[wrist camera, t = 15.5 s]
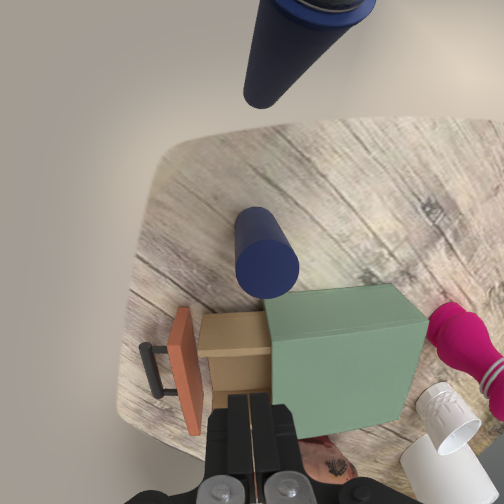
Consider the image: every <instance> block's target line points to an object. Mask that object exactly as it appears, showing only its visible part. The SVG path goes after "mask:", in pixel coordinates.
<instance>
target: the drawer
mask: <svg viewBox="0 0 504 504" xmlns="http://www.w3.org/2000/svg"><path fill="white" fill-rule="evenodd" d="M139 351H140V354H141V358H142V362H143V365H144V369H145V372H146V375H147V379H148V382H149V385H150V388H151V392H152V395H153V397H154V398H156V399H161V398H163V397H164V396H179V400H180V404H181V407H182V411H183V415H184V418H185V422H186V425H187V429H188V432H189V435H190V436H200V433H201V421H202V409H203V398H204V393H203V387H202V382H201V376H200V371H199V365H198V359H197V354H198V357H199V358H200V357H208V364H209V370H210V377H211V383H212V389H213V398H212V411H213V410H214V408H228V394H245V393H247V395H248V406H249V418H250V429H252V424H251V411H250V398H249V393H258V392H269V396H270V403H271V340H270V335H269V330H268V325H267V319H266V314H265V311H255V312H238V313H219V314H203V316H202V322H201V328H200V334H199V341H198V347H197V353H196V347H195V341H194V334H193V328H192V321H191V314H190V308H189V307H179V308H178V310H177V313H176V316H175V319H174V323H173V326H172V329H171V333H170V336H169V339H168V343H167V346H153V347H152V344H151V343H149V342H143V343H141V344H140V345H139ZM154 353H168V354H169V359H170V363H171V368H172V372H173V376H174V380H175V384H176V388H177V389H163V386H162V382H161V378H160V375H159V371H158V367H157V363H156V359H155V356H154Z"/></svg>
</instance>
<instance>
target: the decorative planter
mask: <svg viewBox="0 0 504 504" xmlns="http://www.w3.org/2000/svg"><path fill="white" fill-rule="evenodd" d="M298 443H299V447H300V452H301V456H302V461H303V466H304V469H305V471H306V473H307V474H308V475H309V476H310V477H311V478H313V479H314V480H317V481H319V482H322V483H331V484H344V483H345V482H347V481H348V480H350V479H353V478H356V477H358V473H357V470H356V469H355V467H354V466H353V465H352V464H351V463H350V462H349V461H348V459H346V458H345V457H344V456H343V454H342V453H341V452H340V451H339V450H338V449H337V447H336V446H335V445H334V444H333V443H332V442H331V441H330V440H329V438H328V437H327V436H326V435H324V436H317V437H310V438H303V439H298ZM254 482H255V495H256V498H257V499H258V496H257V485H256V474H255V472H254ZM262 504H264V503H262Z"/></svg>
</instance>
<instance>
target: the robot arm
mask: <svg viewBox="0 0 504 504" xmlns="http://www.w3.org/2000/svg"><path fill="white" fill-rule="evenodd" d="M294 1H295V2H297V3H298V4H300V5H302V6H303V7H305V8H308V9H310V10H313V11H316V12H319V13H324V14H345V13H349V12H351V11H353V10H355V9H357V8H358V7H359V6H360V5H361V4H362V3H363V2H364V1H365V0H294ZM249 398H250V411H251V424H252V437H253V450H254V462H255V474H256V485H257V496H258V503H264V504H423V503H421V502H419V501H417V500H414V499H412V498H410V497H408V496H406V495H404V494H402V493H400V492H398V491H396V490H394V489H392V488H390V487H388V486H386V485H384V484H382V483H380V482H378V481H376V480H374V479H372V478H368V477H356V478H353V479H350V480H348V481H347V482H345V483H344V484H331V483H322V482H319V481H317V480H314V479H313V478H311V477H310V476H309V475H308V474H307V473H306V471H305V469H304V466H303V461H302V456H301V452H300V447H299V443H298V438H297V435H296V429H295V425H294V420H293V415H292V412H291V411H290V410H289V409H288V408H287V406H286V405H285V404H276V405H271V403H270V396H269V392H258V393H249ZM253 503H254V504H255V503H256V495H255V482H254V470H253V457H252V443H251V430H250V418H249V406H248V395H247V393H245V394H228V408H214V410H213V411H212V413H211V415H210V416H209V418H208V425H207V441H206V457H205V474H204V478H203V481H202V482H201V483H200V485H199V486H198V487H196V488H195V489H193V490H192V491H189V492H186V493H183V494H178V495H173V496H167V495H166V494H164V493H162V492H160V491H155V490H147V491H143V492H140V493H138V494H137V495H135V496H134V497H133V498H131V499H130V500H129V501H127V502H126V503H124V504H253Z"/></svg>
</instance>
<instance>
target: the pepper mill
mask: <svg viewBox="0 0 504 504" xmlns="http://www.w3.org/2000/svg"><path fill="white" fill-rule="evenodd" d="M426 336H427V338H428V340H429V341H430V342H431V343H432V344H433V345H434V346H435V347H436V348H437V354H438V356H439V358H440V359H441V360H442V361H443V362H444V363H445V364H446V365H448V366H450V367H452V368H453V369H457V370H460V371H463V372H466V373H468V374H469V375H471V376H472V377H474V378H475V379H476V380H477V381H478V383H479V385H480V388H479V389H480V392H481V393H482V394H484V397H485V398H486V399H489V408H490V411H491V413H492V415H493V416H494V417H495V418H497V419H498V420H500V421H504V357H503V356H502V355H501V354H500V353H499V352H498V351H497V350H496V349H495V348H494V346H493V345H492V343H491V340H490V337H489V334H488V331H487V328H486V326H485V324H484V323H483V321H482V320H481V319H480V318H479V317H478V316H477V315H476V314H475V313H472V312H466V311H465V310H464V309H463V308H462V307H461V306H460V305H458V304H457V303H454V302H449V303H446V304H444V305H442V306H440V307H439V308H438V309H437V310H436V311H435V312H434V313H433V314H432V316H431V317H430V319H429V325H428V329H427V333H426Z"/></svg>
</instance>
